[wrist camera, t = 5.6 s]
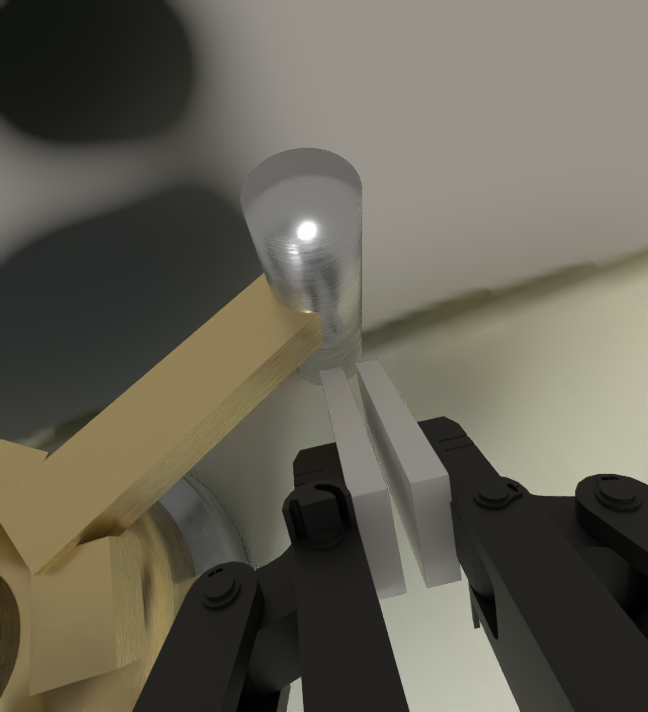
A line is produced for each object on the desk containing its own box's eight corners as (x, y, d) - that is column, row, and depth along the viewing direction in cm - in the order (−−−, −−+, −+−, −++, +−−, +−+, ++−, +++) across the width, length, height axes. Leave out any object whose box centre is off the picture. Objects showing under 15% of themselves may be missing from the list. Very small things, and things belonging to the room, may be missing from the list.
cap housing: (-77, 861, 15) (-189, 940, 12) (-32, 493, 20) (-103, 483, 17) (276, 775, 15) (255, 831, 12) (232, 433, 20) (210, 411, 17)
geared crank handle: (-23, 949, 11) (-905, 1861, 3) (-157, 627, 15) (-761, 714, 7) (452, 418, 16) (541, 286, 8) (267, 265, 19) (202, 66, 11)
